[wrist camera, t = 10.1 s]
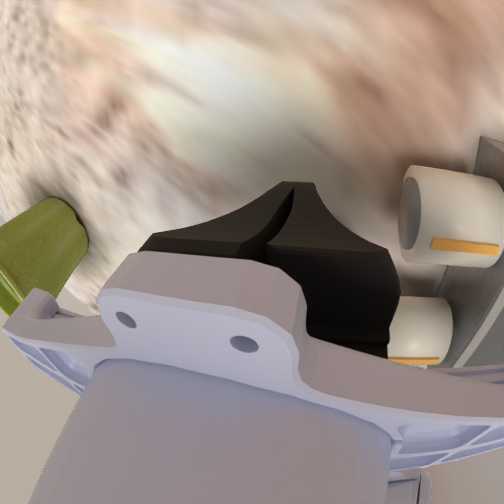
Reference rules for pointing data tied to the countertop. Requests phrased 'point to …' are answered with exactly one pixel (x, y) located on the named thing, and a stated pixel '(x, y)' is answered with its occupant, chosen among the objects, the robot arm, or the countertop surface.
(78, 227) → the plant pot
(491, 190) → the knob
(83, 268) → the countertop surface
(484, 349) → the panel
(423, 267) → the countertop surface
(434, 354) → the knob
